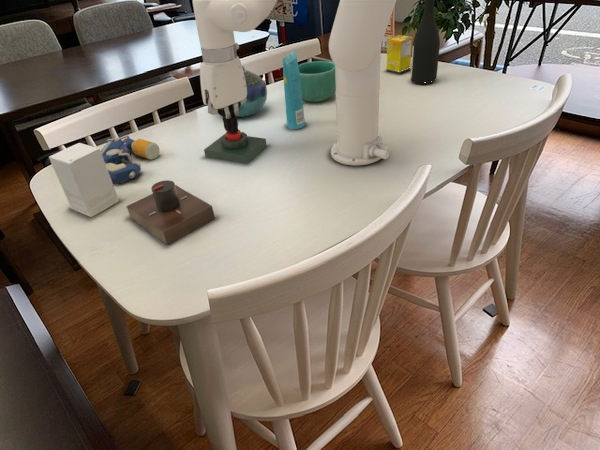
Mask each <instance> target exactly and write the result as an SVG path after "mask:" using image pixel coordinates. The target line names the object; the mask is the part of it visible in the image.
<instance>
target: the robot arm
mask: <svg viewBox="0 0 600 450" xmlns="http://www.w3.org/2000/svg"><path fill="white" fill-rule="evenodd" d="M277 2H278V0H192V7H193V13H194V19H195V25H196V30H197V36H198V40H199V47H200V50H201V51H200V52H201V56H202V62H200V64H199V81H200V91H201V97H202V102H203V105H205V106H207V113H208V114H209V115H212V116H214V115H219V116H220V117H222V122H223V128H224V130H225V131H226V132H230V133H232V134H233V133H235V132H238V130H239V123H238V117H237V115H238V110H239V108H240V106H241V105H242V104H243V103H245V102H246V101H247V98H246V96H247V87H246V81H245V76H244V71H243V68H242V66H243V65H242V62H241V58H240V57H239V56H238V54H237V50H239V49H240V44H238V42H236V40H235V32H237V33H249V32H251V31H253V30H255V29H256V28H258V26H259V25H261V24H262V23H263V22H264V21H265V20H266V19H267V18H268V17H269V15H270V14H271V12H272V11H273V9H274V7H275V6H276V4H277ZM396 3H397V0H339V3H338V7H337V9H336V13H335V17H334V21H333V25H332V28H331V32H330V35H329V39H328V53H329V55H330V59H331V60H332V61H331V62H334V64H335V82H336V90H335V116H336V119H335V120H336V143H334V144H333V145H332V147H331V148H330V156H331V158H332V159H333V160H334V161H335V162H338V163H340V164H342V165H347V166H366V165H370V164H373V163H376V162H379V161H380V160H382V159H383V160H388V158H389V157H390V152H391V149H392V148H391V146H389V145H384V144H383V137H382V136H379V117H380V90H381V89H380V87H381V59H382V57H381V56H382V43H383V40H384V37H385V34H386V32H387V29H388V26H389V23H390V20H391V18H392V14H393V12H394V9H395V6H396Z"/></svg>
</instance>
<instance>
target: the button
mask: <svg viewBox="0 0 600 450" xmlns="http://www.w3.org/2000/svg"><path fill="white" fill-rule="evenodd" d="M241 132H242V131H241V129H238V132H235V133H233V134H232V133H230V132H227V131H226V132H225V133H226V137H227V140H228V141H236V140H239V139H241Z"/></svg>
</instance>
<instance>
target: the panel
mask: <svg viewBox="0 0 600 450" xmlns="http://www.w3.org/2000/svg"><path fill="white" fill-rule="evenodd" d="M175 187H176V191H177V194H178V198H179V202H180V205H179V207H178V208H176V209H175V210H172V211H168V212H162V211H159V210H158V209H157V206H156V202H155V199H154V196H153V193H151V194H149V195H146V196H145V197H143V198H140V199H138V200H137V201H134V202H131V203H129V204H128V205H126V209H127V211H128V214H129V217H130V219H131V220H133V221H134V222H135V223H137V224H138V225H139V226H140V227H142V228H144V229H145V230H146V231H148V232H149V233H150V234H152V235H153V236H154V237H156V238H157V239H159V240H160V241H161V242H162V243H164V244H165V245H167V246H168V245H170V244H171V243H174V242H175V241H177V240H179V239H180V238H182V237H184V236H186V235H188V234H190V233H192V232H194V231H195V230H197V229H199V228H200V227H202V226H205V225H206V224H207V223H209V222H211V221H213V220H215V219H216V217H215V213H214V208H213V205H211V204H209V203H208V202H207V201H204V200H202V199H201V198H199V197H197V196H195V195H194V194H192V193H190V192H188V191H187V190H185V189H183V188H182V187H180V186H179V185H176V184H175Z"/></svg>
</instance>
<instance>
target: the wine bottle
mask: <svg viewBox="0 0 600 450" xmlns="http://www.w3.org/2000/svg"><path fill="white" fill-rule="evenodd" d="M440 47H441V40H440V33H439V29H438V26H437V22H436V18H435V0H424V9H423V15H422V18H421V20H420V22H419V25H418V27H417V29H416V32H415V33H414V37H413V40H412V49H411V66H410V81H411V82H412V83H413V84H416V85H421V86H423V85H424V86H425V85H431V84H433V83H435V82H436V80H437V78H438V77H437V75H438V67H439V57H440ZM435 79H436V80H435ZM431 81H432V82H431ZM424 82H426V83H424Z"/></svg>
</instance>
